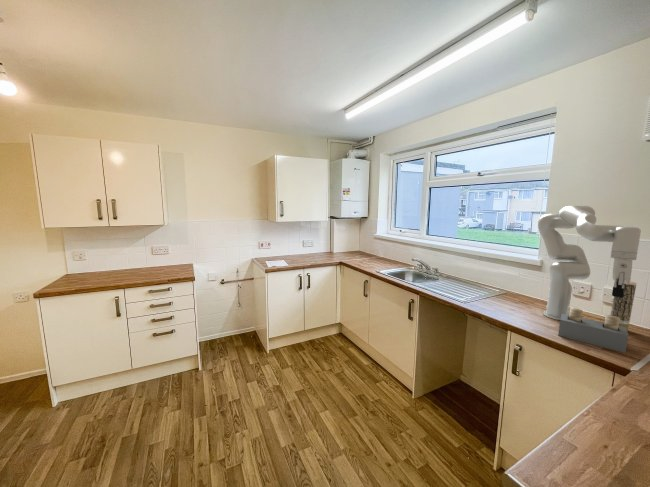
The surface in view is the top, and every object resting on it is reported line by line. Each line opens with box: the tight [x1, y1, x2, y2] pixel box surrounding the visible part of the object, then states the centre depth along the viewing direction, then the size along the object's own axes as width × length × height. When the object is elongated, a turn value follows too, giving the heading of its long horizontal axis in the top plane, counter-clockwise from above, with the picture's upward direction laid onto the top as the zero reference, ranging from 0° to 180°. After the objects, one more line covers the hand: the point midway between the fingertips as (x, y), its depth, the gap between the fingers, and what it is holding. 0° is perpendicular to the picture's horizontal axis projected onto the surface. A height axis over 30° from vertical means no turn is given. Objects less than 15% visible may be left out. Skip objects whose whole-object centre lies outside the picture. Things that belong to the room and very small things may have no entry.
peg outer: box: [604, 314, 620, 331], centre depth 122 cm, size 4×4×7 cm
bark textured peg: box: [610, 280, 637, 332], centre depth 138 cm, size 7×7×25 cm
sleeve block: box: [557, 314, 629, 354], centre depth 127 cm, size 22×11×8 cm, turn 46°
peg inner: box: [568, 307, 583, 322], centre depth 130 cm, size 4×4×7 cm
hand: (617, 296), depth 120 cm, fingers closed
